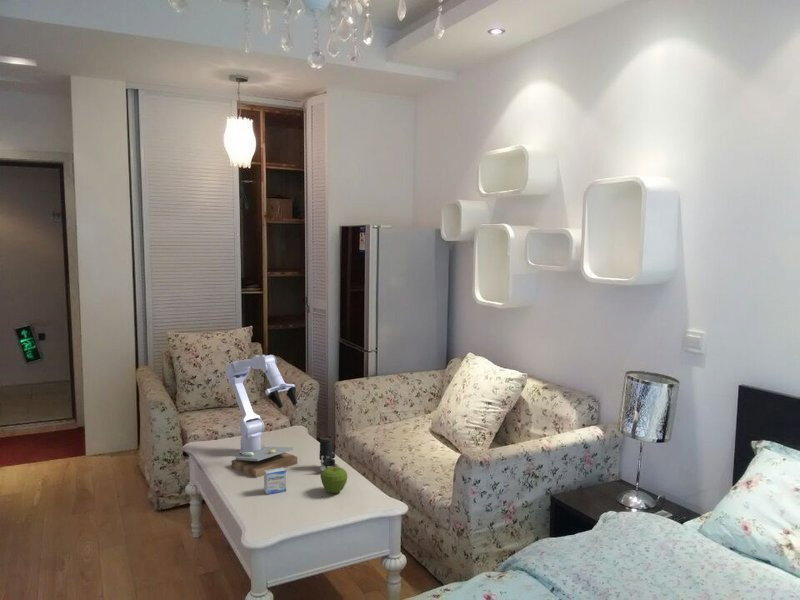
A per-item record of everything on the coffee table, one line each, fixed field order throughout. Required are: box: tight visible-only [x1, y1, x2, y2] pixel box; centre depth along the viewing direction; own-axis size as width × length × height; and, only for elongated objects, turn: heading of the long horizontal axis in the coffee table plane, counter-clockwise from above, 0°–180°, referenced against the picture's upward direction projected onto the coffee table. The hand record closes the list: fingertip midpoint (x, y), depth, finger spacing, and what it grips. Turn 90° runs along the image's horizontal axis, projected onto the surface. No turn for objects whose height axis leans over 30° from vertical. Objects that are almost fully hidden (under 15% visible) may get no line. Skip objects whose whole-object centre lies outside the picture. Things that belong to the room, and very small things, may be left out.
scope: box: [318, 435, 340, 473], centre depth 264 cm, size 8×14×10 cm
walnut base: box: [231, 452, 298, 478], centre depth 269 cm, size 18×22×3 cm
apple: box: [320, 466, 349, 494], centre depth 240 cm, size 11×10×10 cm
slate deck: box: [235, 446, 294, 461], centre depth 269 cm, size 17×19×3 cm
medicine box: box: [263, 467, 287, 495], centre depth 241 cm, size 8×4×9 cm, turn 117°
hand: (288, 405), depth 261 cm, fingers open, 7 cm apart
